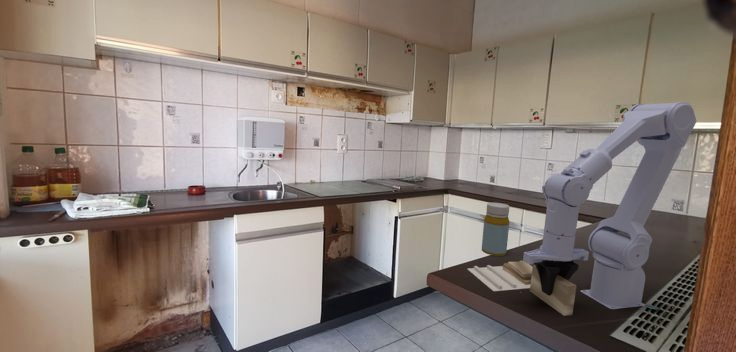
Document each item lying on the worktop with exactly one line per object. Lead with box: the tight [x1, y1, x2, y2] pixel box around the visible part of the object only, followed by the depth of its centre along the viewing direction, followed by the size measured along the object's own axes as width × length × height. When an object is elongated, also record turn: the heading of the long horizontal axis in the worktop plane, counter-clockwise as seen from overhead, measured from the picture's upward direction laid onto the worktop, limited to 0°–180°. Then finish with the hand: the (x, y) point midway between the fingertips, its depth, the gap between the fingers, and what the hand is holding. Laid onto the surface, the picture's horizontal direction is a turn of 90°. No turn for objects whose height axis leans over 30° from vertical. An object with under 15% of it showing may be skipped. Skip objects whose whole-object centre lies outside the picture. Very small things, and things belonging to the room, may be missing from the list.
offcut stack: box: [502, 261, 533, 285], centre depth 84 cm, size 6×9×2 cm, turn 13°
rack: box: [467, 260, 531, 292], centre depth 84 cm, size 17×12×2 cm
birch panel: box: [529, 264, 577, 316], centre depth 72 cm, size 2×10×6 cm, turn 13°
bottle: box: [481, 202, 510, 257], centre depth 99 cm, size 7×7×15 cm
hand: (551, 292), depth 71 cm, fingers closed on birch panel, 2 cm apart
